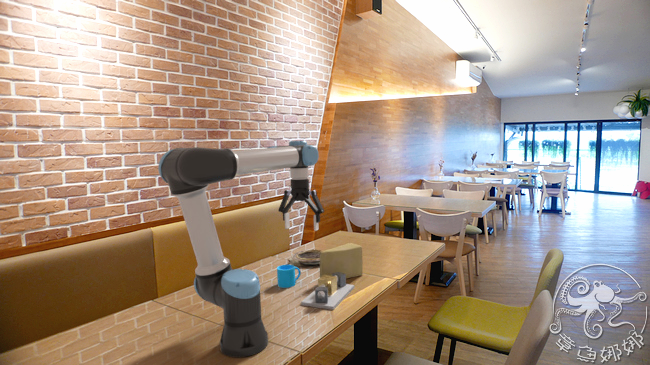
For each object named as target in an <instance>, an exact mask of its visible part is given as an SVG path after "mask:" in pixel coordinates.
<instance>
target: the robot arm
mask: <svg viewBox="0 0 650 365" xmlns="http://www.w3.org/2000/svg"><path fill="white" fill-rule="evenodd" d="M319 158H320V156H319V150H318V148H317V147H316V146H315V145H311V144H308V142H307V141H306V140H290V141H289V143H288V145H279V146H278V145H274V146H268V147H266V148H257V149H256V148H255V149H244V150H234V151H233V150H232V149H231V148H208V147H199V146H198V147H197V146H196V147H194V146H193V147H176V148H173V149H172V148H171V149H170V150H168V151H166V152H165V153H164V154H163V155H162V156H161V158H160V160H159V162H158V168H157V169H158V174H159V176H160V178H161V179H162V180H163V181H164V182H165V183H166V184H168V188H169V190H170V193H171V196H173V197H175V198H177V199H178V203H179V206H180V209H181V213H182V216H183V219H184V223H185V226H186V229H187V232H188V236H189V240H190V242H191V246H192V249H193V253H194V255H195V259H196V262H197V266H196V268H195V269H194V271H195V272H194V273H195V277H194V280H193V287H194V290H195V292H196V294H197V295H198V296H199V297H200V298H201V299H202V300H203V301H205V302H209V303H210V304H213V305H215V306H216V307H219V308H221V309H223V320H224V321H223V323H224V324H223V327H222V328H223V329H222V331H221V336H220V340H219V349H220V350H219V351H220V352H221V353H222V354H223V355H224V356H227V357H230V358H231V357H232V358H244V357H245V358H247V357H249V356H253V355H255V354H258V353H260V352H262V351H263V350H265V349H266V348H267V346H268V344H269V335H268V332H267V330H266V328H265V324H264V323H263V320H262V307H261V306H262V304H261V303H262V302H261V284H260V278H259V276H258V274H257V273H256V271H253V270H251V269H250V270H249V269H242V268H235V269H232V268H233V267H232V264H231V261H230V259H229V258H227V257H226V256H224V253H223V250H222V246H221V243H220V239H219V236H218V232H217V228H216V224H215V220H214V217H213V213H212V211H211V207H210V203H209V199H208V196H207V195H208V194H207V192H206V191H207V189H208V188H209V185H212V184H216V183H220V182H224V181H225V182H226V181H230V180H231V181H232V180H234V179H235V178H236V177H237V176H241V175H247V174H248V175H249V174H256V173H264V172H269V171H274V170H275V171H276V170H283V169H289V175H290V176H289V179H290V189H286V190H284V191H283V197H282V199H281V202H280V205H279V207H278V212H280V213H282V221H284V229H285V230H287V229H290V228H291V225H290V222H291V220H290V212H289V211H290V209H291V208H292V206H293V205H294V203H295V202H305V203H306V204H307V206H308V207H309V208H310V209H311V210H312V212H313V213H314V214H313V230H314V232H317V231H318V230H319V223H320V222H321V214H324V213H325V208H324V207H323V205H322V203H321V201H320V198H319V196H318V193H317V189H314V190H310V179H309V167H310V166H315V165H316V164H317V162H318V161H319ZM290 196H291V198H289V197H290ZM310 196H311V197H310ZM311 198H312V199H311ZM289 199H290V200H289ZM288 200H289V201H288ZM287 202H288V203H287Z"/></svg>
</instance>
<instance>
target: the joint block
mask: <svg viewBox="0 0 650 365" xmlns="http://www.w3.org/2000/svg"><path fill="white" fill-rule="evenodd" d="M317 284H318V286H317V287H319V286H320V285H325V286H326V287H328V295H332V294H333V293H335V292H336V291H337V276H330V275H323V276H322V277H321V278H320V277H319V278H318V280H317Z"/></svg>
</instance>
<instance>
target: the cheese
mask: <svg viewBox="0 0 650 365" xmlns="http://www.w3.org/2000/svg"><path fill="white" fill-rule="evenodd" d="M321 251H322V252H321V253H320V266H319V278H321V277H322V276H323V275H330V276H332V274H333V273H335V272H341V273H344V274H346V279H350V278H355V277H358V276H359V277H360V276H363V272H364V271H363V267H364V266H363V262H364V260H363V246H362V245H359V244H356V243H353V242H352V243H351V242H348V243H345V244H342V245H338V246H334V247H333V248H329V249H325V250H321Z"/></svg>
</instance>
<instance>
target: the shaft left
mask: <svg viewBox="0 0 650 365" xmlns="http://www.w3.org/2000/svg"><path fill="white" fill-rule="evenodd" d="M314 291H315V301H316V303H328V287H326V286H325V285H320V286H319V287H318V286H316V287H315V290H314Z"/></svg>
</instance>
